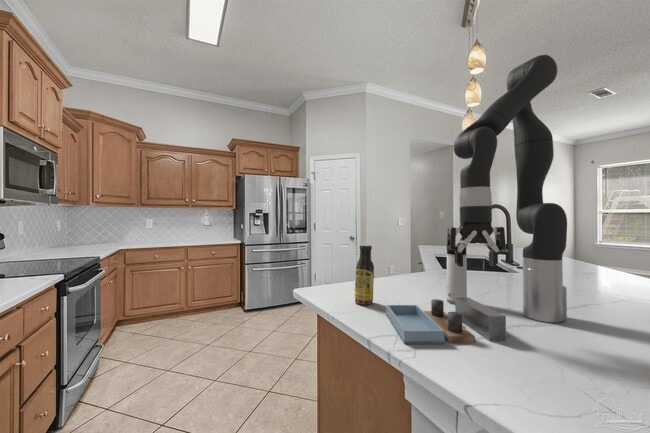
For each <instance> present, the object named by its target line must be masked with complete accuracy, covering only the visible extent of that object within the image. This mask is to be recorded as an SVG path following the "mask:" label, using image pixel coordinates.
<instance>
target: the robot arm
mask: <svg viewBox="0 0 650 433" xmlns="http://www.w3.org/2000/svg"><path fill="white" fill-rule="evenodd" d="M557 74H558V65H557V63H556V61H555V59H554V58H553V57H552V56H550V55H548V54H540V55H537V56H534V57H532V58H531V59H529V60H527V61H525V62H523V63H522V64H520V65H518V66H516V67H515V68H512V70H511V71H509V73H508V74H507V78H506V90H507V92H505V93H504V94H503V95H501V96H499V98H497V99H496V100H495V101H494V102H493V103H491V105H489V107H488V108H487V109H486V110H485V111H484V112H483V114H481V115H480V116H479V118H478V119H477V120H475V121H474V122H473V123H471V124H470V125H469V126H468V127H466V128H465V129H464V130H462V131H461V132H460V133H459V134H458V135H457V137H456V138H455V140H454V143H453V152H454V154H455V156H457V157H458V158H459V159H461V160H462V159H463V160H468V159H471V161H470V163H469V164H468V165H466V166H464V167H463V168H461V170H460V173H459V174H460V175H459V176H460V178H459V179H460V180H459V181H460V184H459V185H460V186H459V188H460V191H459V227H455V226H454V227H453V226H449V227H447V234H446V236H447V239H446V249H447V248H448V249H450V250H453V251H454V252H455V264H457V266H459V267H463V253H462V251H463V249H464V248H465V247H466V248H467V246H469V244H473V245H474V244H483V245H484V246H486V247H487V249H488V250H489V251H488V265H489V266H490V267H495V268H496V267H497V265H498V264H499V252H500V251H502V250H506V248H507V244H506V231H505V227H504V226H495V227H493V226H492V223H493V216H492V215H493V210H492V209H493V208H492V203H493V201H492V191H491V171H492V170H491V169H492V165H493V162H494V159H495V155H496V152H497V148H498V137H497V136H499V135H500V134H501V133H502V132H504V130H505V129H506V128H507V127H508V126H509V124H510V123H511V122H512V129H513V143H514V144H513V145H514V146H513V147H514V159H515V167H516V171H515V172H516V186H517V187H516V188H517V190H516V191H517V193H516V194H517V196H516V208H515V209H516V211H515V212H516V213H515V218H516V223H517V226H518V228H519V229H520V230H521V231H522V232H523V233H525V234H529V235H532V240H531V243H530V244H528V245H527V246H525V247H523V249H522V314H523V316H524V317H526V318H528V319H531V320H535V321H538V322H545V323H555V324H556V323H558V324H559V323H562V322H566V321H568V318H567V317H568V314H567V313H568V308H567V305H568V303H567V301H568V300H567V294H568V293H567V291H568V290H567V287H566V286H565V285H564V284H563V283H564V280H563V278H564V277H563V276H564V275H563V274H564V271H563V255H564V253H565V251H566V247H567V239H568V238H567V237H568V236H567V234H568V232H567V231H568V218H567V213H566V212H565V210H564V208H563V207H562V206H561V205H559V204H558V203H554V202H544V199H543V198H544V197H543V188H544V183H545V181H546V178H547V175H549V174H548V173H549V171H550V169H551V167H552V164H553V161H554V152H555V151H554V141H553V140H554V139H553V138H554V137H553V133H552V132H551V130H550V129H549V127H548V126H547V125H546V124H545V123H544V122H543V121H542V120H541V119H540V118H539V117H538V116H537V115H536V113H535V112H534V110H533V107H532V102H531V101H532V100H533V99H535V97H536V96H538V95H539V94H540V93H541V92H542V91H544V90H545V89H547V88H548V87H549V86H550V85H551V84H553V83H554V81H555V80H556V78H557ZM458 234H460V236H461V237H460V238H459V240H458V241H457V236H458ZM492 234H493V235H494V237H495V238H494V240H495V241H494V240H493V238H491V235H492ZM456 242H457V244H456ZM455 245H456V246H455Z"/></svg>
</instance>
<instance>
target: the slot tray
mask: <svg viewBox="0 0 650 433" xmlns="http://www.w3.org/2000/svg"><path fill="white" fill-rule="evenodd" d="M385 311H386V312H385V313H386V314H385V315H386V317H387V319H388V320H389V323H390V324H391V325H392V326H393V327H392V328H394V330H395V332H396V333H397V335H398V337H399V338H400V339H401V341H402V343H403V344H404V345H445V340H446V339H445V338H444V330H443V329H442V328H441V327H440V326H439V325H437V324H436V323H435V322H434V321H433V320H432V319H431V318H430V317H429V316H428V315H427V314H426V313H425V312H424V311H425V310H423V309H422V308H421V307H420V306H419V305H417V304H386V305H385Z"/></svg>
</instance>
